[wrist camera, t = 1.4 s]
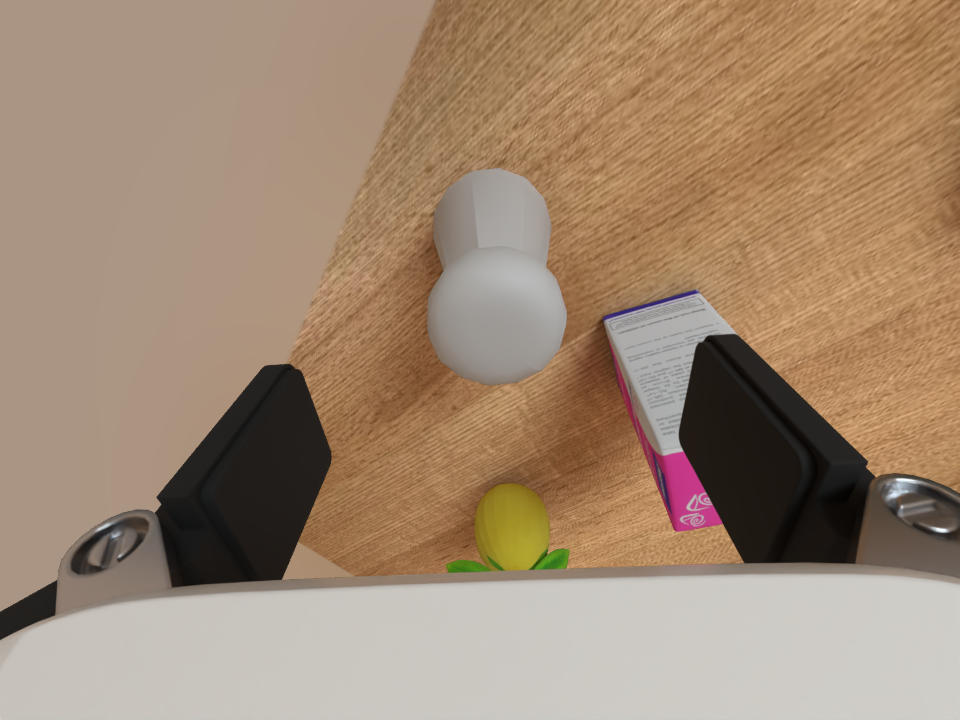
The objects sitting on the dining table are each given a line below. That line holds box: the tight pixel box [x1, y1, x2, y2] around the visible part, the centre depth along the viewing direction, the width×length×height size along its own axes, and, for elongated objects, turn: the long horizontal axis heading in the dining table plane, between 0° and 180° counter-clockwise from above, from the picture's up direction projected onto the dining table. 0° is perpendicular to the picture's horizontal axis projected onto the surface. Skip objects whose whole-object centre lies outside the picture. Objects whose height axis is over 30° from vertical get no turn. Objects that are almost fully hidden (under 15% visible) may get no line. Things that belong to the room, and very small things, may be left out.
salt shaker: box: [427, 168, 567, 386], centre depth 18 cm, size 6×6×13 cm
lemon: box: [446, 483, 570, 573], centre depth 31 cm, size 7×6×10 cm
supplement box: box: [603, 289, 739, 532], centre depth 22 cm, size 6×6×12 cm
